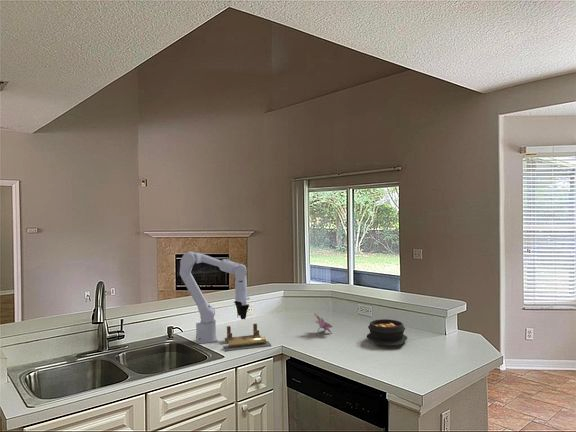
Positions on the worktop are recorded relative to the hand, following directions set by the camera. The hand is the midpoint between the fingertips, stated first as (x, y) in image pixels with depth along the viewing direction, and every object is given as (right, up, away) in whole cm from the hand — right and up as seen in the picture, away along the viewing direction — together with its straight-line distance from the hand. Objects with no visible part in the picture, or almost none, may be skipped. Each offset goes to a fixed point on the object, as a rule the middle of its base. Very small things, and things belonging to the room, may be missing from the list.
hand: (241, 317), depth 205 cm
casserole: (+69, -9, -9) cm, 70 cm away
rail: (+4, -9, -12) cm, 15 cm away
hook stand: (+1, -10, -2) cm, 11 cm away
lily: (+40, -10, +5) cm, 42 cm away
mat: (+4, -10, -12) cm, 17 cm away
